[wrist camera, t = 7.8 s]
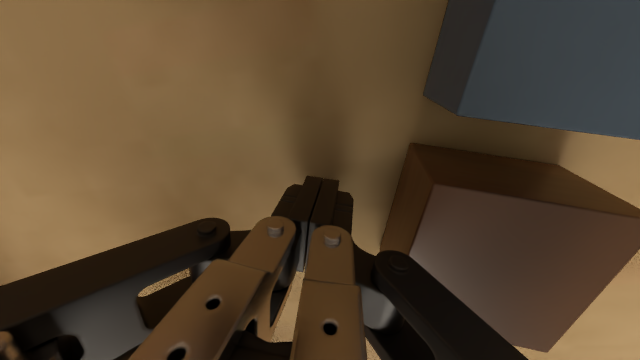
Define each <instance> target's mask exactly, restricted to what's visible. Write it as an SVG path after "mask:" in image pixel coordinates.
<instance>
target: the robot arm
mask: <svg viewBox="0 0 640 360" xmlns="http://www.w3.org/2000/svg"><path fill="white" fill-rule="evenodd" d="M338 186H339V180H333V179H326V178H324V179H323V178H320V177H313V176H307V177H306V179H305V181H304V183H303V185H298V184H293V185H292V186H290V187H288V188H287V189H286V191H285V192H284V194H283V196H282V198H281V199H280V201H279V203H278V205H277V206H276V208H275V210H274V211H273V213H272V215H271V217H266V218H264V219H262V220H260V221H259V222H258V223H257V224H256V225H255V226H254V228H253V229H252V230H246V231H230V226H229V224H228V223H227V222H226V221H225V220H222V219H219V218H205V219H201V220H197V221H194V222H191V223H188V224H185V225H182V226H179V227H176V228H173V229H170V230H167V231H164V232H161V233H158V234H155V235H152V236H149V237H146V238H143V239H140V240H137V241H134V242H131V243H128V244H125V245H122V246H119V247H116V248H113V249H110V250H107V251H104V252H101V253H98V254H95V255H92V256H89V257H86V258H83V259H80V260H78V261H75V262H72V263H69V264H66V265H63V266H60V267H57V268H54V269H51V270H48V271H45V272H42V273H39V274H36V275H33V276H30V277H27V278H24V279H21V280H18V281H15V282H12V283H9V284H6V285H3V286H0V360H367V351H366V339H365V337H366V338H367V340H368V341H369V343H370V344H371V346H372V347H373V349H374V350H375V351H376V353H377V354H378V356H379V357H380V359H381V360H528V359H527V358H526V357H525V356H524V355H523V354H521V353H520V352H519V351H518V350H517V349H516V348H515V347H513V346H512V345H511V344H510V343H509V342H508V341H507V340H505V339H504V338H503V337H502V336H501V335H500V334H499V333H497V332H496V331H495V330H494V329H493V328H492V327H491V326H489V325H488V324H487V323H486V322H485V321H484V320H483V319H481V318H480V317H479V316H478V315H477V314H476V313H475V312H473V311H472V310H471V309H470V308H469V307H468V306H466V305H465V304H464V303H463V302H462V301H461V300H460V299H458V298H457V297H456V296H455V295H454V294H453V293H452V292H450V291H449V290H448V289H447V288H446V287H445V286H444V285H442V284H441V283H440V282H439V281H438V280H437V279H436V278H434V277H433V276H432V275H431V274H430V273H429V272H428V271H426V270H425V269H424V268H423V267H422V266H421V265H420V264H418V263H417V262H416V261H415V260H414V259H412V258H411V257H410V256H408V255H406V254H404V253H402V252H399V251H395V250H385V251H381V252H379V253H378V254H377V255H376V256H374V255H372V254H369V253H367V252H365V251H363V250H362V249H360V248H359V247H358V246H357V245H356V244H355V243H354V242H353V239H352V237H351V231H352V214H353V198H352V196H351V195H350V193H348V192H342V191H338ZM305 263H306V264H305ZM304 266H305V278H304V279H303V283H302V289H301V295H300V301H299V307H298V313H297V319H296V324H295V330H294V336H293V342H275V343H271V339H272V336H273V333H274V331H275V328H276V326H277V323H278V321H279V318H280V316H281V313H282V311H283V308H284V306H285V303H286V301H287V298H288V296H289V293H290V291H291V288H292V281H293V279H294V276H295V273H296V271H299V272H303V270H304ZM187 268H189V271H190V276H189V277H187V278H184V279H182V280H180V281H178V282H176V283H174V284H172V285H169V286H167V287H165V288H163V289H161V290H159V291H156V292H154V293H152V294H150V295H148V296H144V297H138V294H139V293H140V292H141V291H142V290H143V289H144V288H145V287H147V286H149V285H151V284H153V283H156V282H158V281H160V280H162V279H165V278H167V277H169V276H171V275H174V274H176V273H178V272H181V271H183V270H185V269H187Z"/></svg>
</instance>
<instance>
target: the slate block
mask: <svg viewBox="0 0 640 360" xmlns="http://www.w3.org/2000/svg"><path fill="white" fill-rule="evenodd" d="M423 95H424V96H425V97H427V98H429V99H430V100H432V101H434V102H435V103H437V104H439V105H440V106H442V107H444V108H445V109H447V110H449V111H451V112H452V113H454V114H456V115H457V116H463V117H470V118H478V119H486V120H493V121H501V122H508V123H516V124H523V125H531V126H538V127H546V128H553V129H561V130H569V131H576V132H584V133H591V134H599V135H606V136H614V137H621V138H629V139H636V140H640V0H449V2H448V6H447V9H446V13H445V17H444V20H443V24H442V27H441V31H440V35H439V38H438V42H437V46H436V49H435V53H434V57H433V60H432V64H431V67H430V71H429V75H428V78H427V82H426V86H425V89H424V93H423Z"/></svg>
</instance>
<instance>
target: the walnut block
mask: <svg viewBox="0 0 640 360" xmlns="http://www.w3.org/2000/svg"><path fill="white" fill-rule="evenodd" d="M639 249H640V209H639V208H637V207H635V206H633V205H631V204H629V203H628V202H626V201H624V200H622V199H620V198H618V197H616V196H615V195H613V194H611V193H609V192H607V191H605V190H603V189H602V188H600V187H598V186H596V185H594V184H592V183H591V182H589V181H587V180H585V179H583V178H581V177H579V176H578V175H576V174H574V173H572V172H570V171H568V170H566V169H565V168H563V167H561V166H559V165H552V164H546V163H539V162H533V161H526V160H520V159H513V158H507V157H500V156H494V155H487V154H481V153H474V152H467V151H461V150H454V149H448V148H441V147H435V146H428V145H422V144H415V143H410V145H409V149H408V152H407V156H406V159H405V163H404V166H403V170H402V173H401V177H400V180H399V184H398V187H397V191H396V194H395V198H394V201H393V205H392V208H391V212H390V215H389V219H388V222H387V226H386V229H385V233H384V236H383V240H382V243H381V247H380V252H381V251H385V250H395V251H399V252H402V253H404V254H406V255H408V256H410V257H411V258H412V259H414V260H415V261H416V262H417V263H418V264H420V265H421V266H422V267H423V268H424V269H425V270H426V271H428V272H429V273H430V274H431V275H432V276H433V277H434V278H436V279H437V280H438V281H439V282H440V283H441V284H442V285H444V286H445V287H446V288H447V289H448V290H449V291H450V292H452V293H453V294H454V295H455V296H456V297H457V298H458V299H460V300H461V301H462V302H463V303H464V304H465V305H466V306H468V307H469V308H470V309H471V310H472V311H473V312H475V313H476V314H477V315H478V316H479V317H480V318H481V319H483V320H484V321H485V322H486V323H487V324H488V325H489V326H491V327H492V328H493V329H494V330H495V331H496V332H497V333H499V334H500V335H501V336H502V337H503V338H504V339H505V340H507V341H508V342H509V343H510V344H511V345H514V346H518V347H523V348H528V349H532V350H537V351H541V352H548V351H549V350H550V349H551V348H552V347H553V346H554V345H555V343H556V342H557V341H558V340H559V339H560V338H561V337H562V336H563V335H564V333H565V332H566V331H567V330H568V329H569V328H570V327H571V326H572V324H573V323H574V322H575V321H576V320H577V319H578V318H579V317H580V315H581V314H582V313H583V312H584V311H585V310H586V309H587V308H588V306H589V305H590V304H591V303H592V302H593V301H594V300H595V299H596V297H597V296H598V295H599V294H600V293H601V292H602V291H603V290H604V288H605V287H606V286H607V285H608V284H609V283H610V282H611V281H612V279H613V278H614V277H615V276H616V275H617V274H618V273H619V272H620V271H621V269H622V268H623V267H624V266H625V265H626V264H627V263H628V262H629V260H630V259H631V258H632V257H633V256H634V255H635V254H636V253H637V251H638V250H639Z"/></svg>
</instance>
